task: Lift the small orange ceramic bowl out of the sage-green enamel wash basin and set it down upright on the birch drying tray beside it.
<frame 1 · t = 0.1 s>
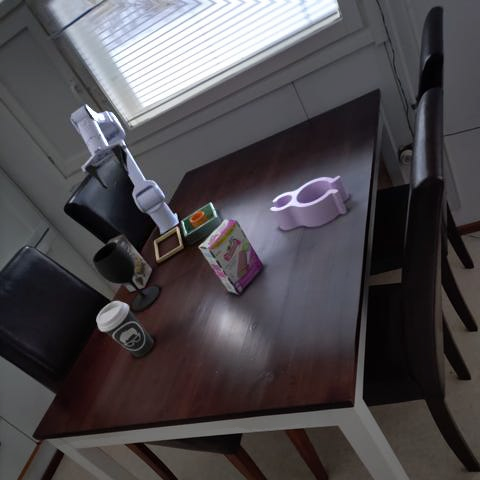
hand: (115, 179, 131), 32 cm above the table, tool tilted 50°, fingers open, 7 cm apart
bowl: (203, 226, 155), point 1 cm above the table, touching basin
basin: (204, 228, 156), on the table
candy bar box: (247, 279, 123), on the table
clip: (313, 215, 128), on the table
coffee cup: (144, 348, 125), on the table
wine glass: (146, 299, 143), on the table
tray: (169, 246, 159), on the table
coffee box: (142, 281, 152), on the table
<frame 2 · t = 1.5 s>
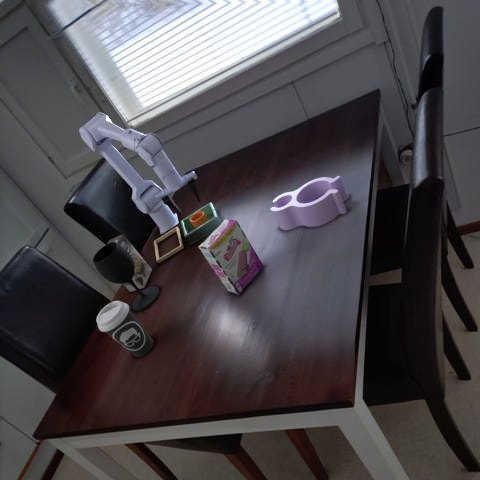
hand: (190, 207, 150), 9 cm above the table, tool pointing down, fingers open, 7 cm apart
nothing on the table moved.
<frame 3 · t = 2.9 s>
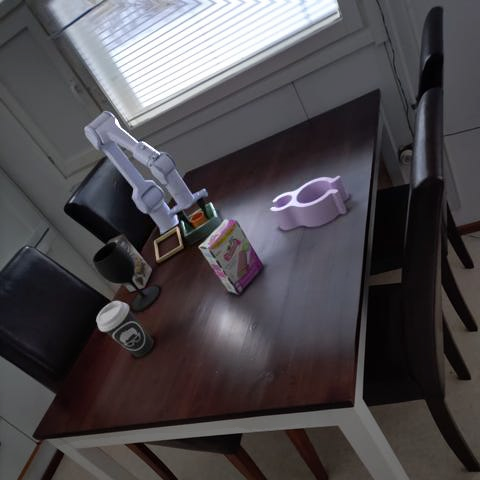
hand: (200, 223, 154), 2 cm above the table, tool pointing down, fingers closed on bowl, 5 cm apart
bowl: (203, 226, 155), point 1 cm above the table, touching basin, gripper
everything else where it was.
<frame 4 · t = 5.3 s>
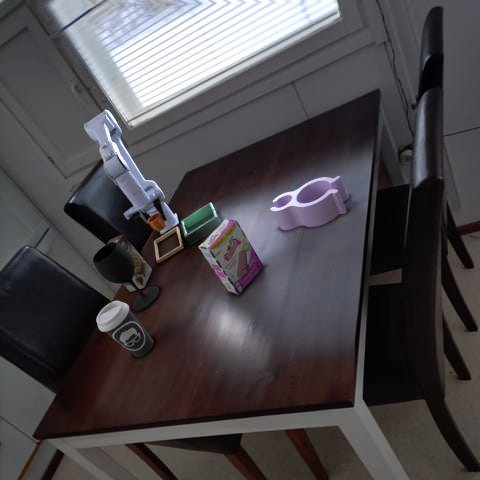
hand: (158, 224, 153), 9 cm above the table, tool pointing down, fingers closed on bowl, 5 cm apart
bowl: (161, 228, 154), point 8 cm above the table, touching gripper
everything else where it was.
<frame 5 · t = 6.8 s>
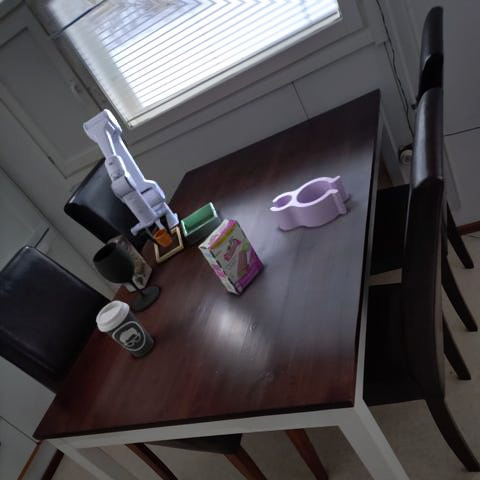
hand: (164, 239, 157), 3 cm above the table, tool pointing down, fingers closed on bowl, 5 cm apart
bowl: (167, 243, 158), point 2 cm above the table, touching gripper
everything else where it was.
when the fingers open (2 cm above the table, at t = 7.7 s): bowl stays where it is, resting on tray.
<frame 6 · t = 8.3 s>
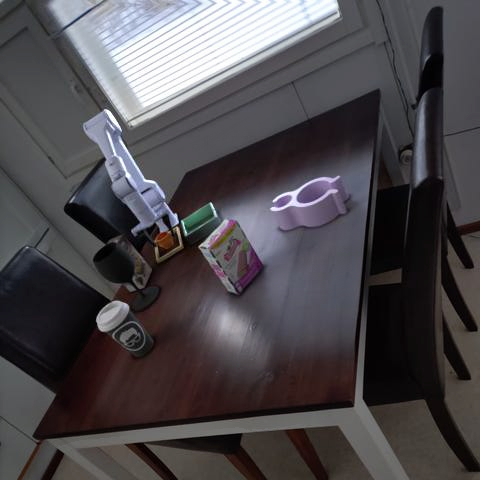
hand: (164, 240, 157), 3 cm above the table, tool pointing down, fingers open, 7 cm apart
bowl: (169, 245, 159), resting on tray
everything else where it was.
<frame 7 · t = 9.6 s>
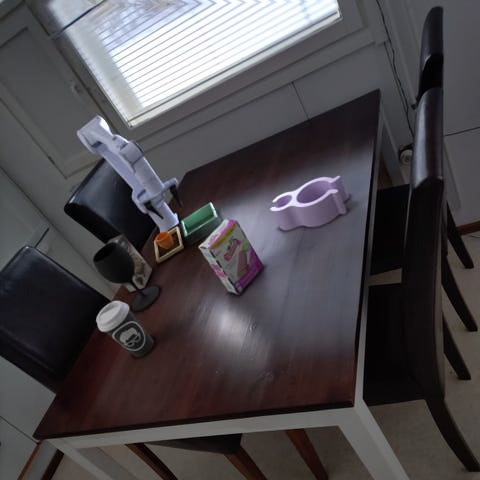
hand: (172, 212, 154), 9 cm above the table, tool pointing down, fingers open, 7 cm apart
nothing on the table moved.
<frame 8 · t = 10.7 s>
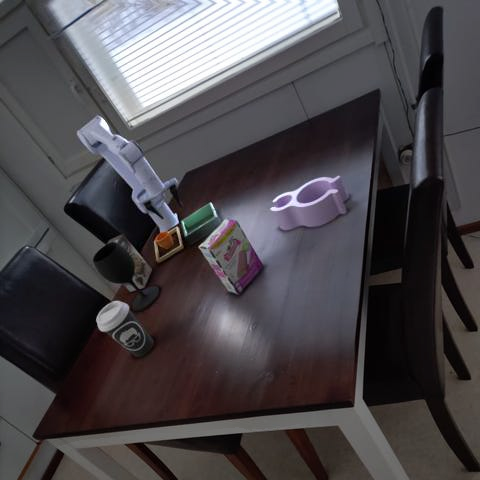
hand: (172, 212, 154), 9 cm above the table, tool pointing down, fingers open, 7 cm apart
nothing on the table moved.
at the end: bowl inside the target area in the tray (0.1 cm from its centre), point 0.5 cm above the tray's base; bowl tilted 0°; the gripper is holding nothing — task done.
